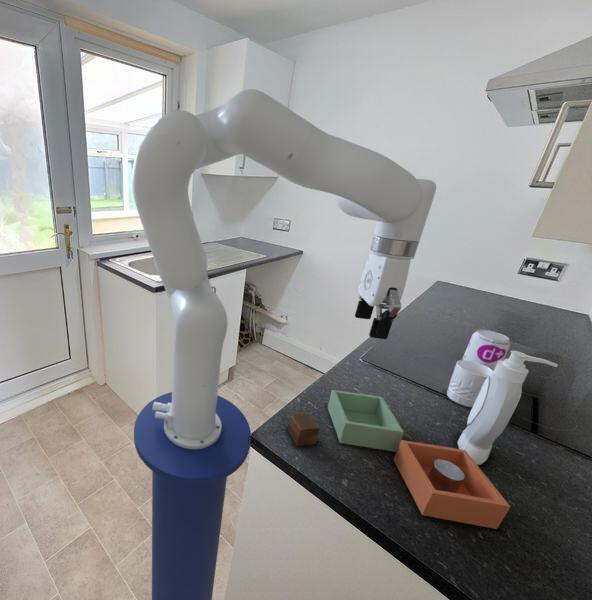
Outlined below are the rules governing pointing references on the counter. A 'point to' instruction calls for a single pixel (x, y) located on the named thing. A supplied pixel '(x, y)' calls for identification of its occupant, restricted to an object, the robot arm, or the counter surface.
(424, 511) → the right bin
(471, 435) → the soap bottle
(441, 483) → the steel cylinder
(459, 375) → the white cup
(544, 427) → the counter surface
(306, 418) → the walnut block
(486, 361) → the supplement can
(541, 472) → the counter surface
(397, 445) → the left bin
